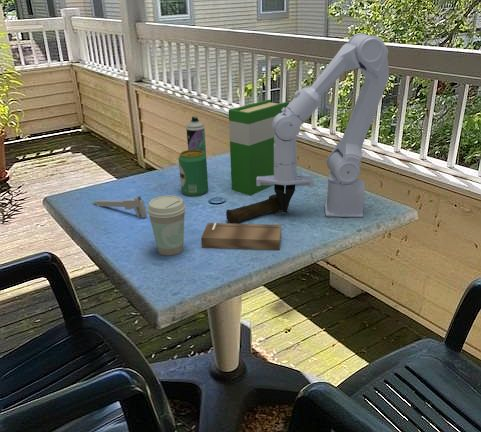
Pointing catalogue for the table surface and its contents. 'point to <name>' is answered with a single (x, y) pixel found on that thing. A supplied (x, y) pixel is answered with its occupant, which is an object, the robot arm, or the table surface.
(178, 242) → the coffee cup
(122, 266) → the table surface
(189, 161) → the green can
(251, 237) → the walnut board
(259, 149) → the hardback book
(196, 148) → the spray can
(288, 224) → the table surface
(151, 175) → the table surface
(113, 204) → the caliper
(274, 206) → the dark brown rod
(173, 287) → the table surface
